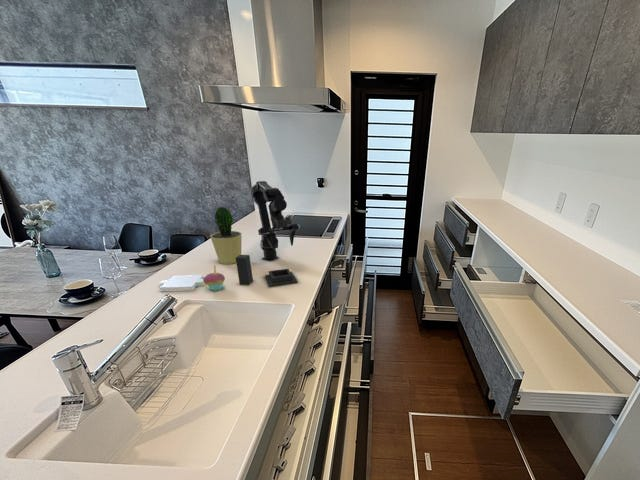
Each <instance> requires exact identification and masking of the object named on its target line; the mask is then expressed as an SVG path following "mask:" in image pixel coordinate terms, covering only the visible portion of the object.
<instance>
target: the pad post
mask: <svg viewBox="0 0 640 480" xmlns="http://www.w3.org/2000/svg"><path fill="white" fill-rule="evenodd" d="M250 257H251V256H250V254H241V255H239V256H237V257H236V263H235V264H236V269H237V277H238V283H239V285H243V286H244V285H246V286H248V285H251V284H252V282H254V278H253V269H252V264H251V258H250Z"/></svg>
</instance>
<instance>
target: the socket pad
mask: <svg viewBox="0 0 640 480" xmlns="http://www.w3.org/2000/svg"><path fill="white" fill-rule="evenodd" d="M264 278H265V280H266V283H267V286H268V288H274V287H281V286H287V285H292V284H298V279H297V278H296V276H295V274H294V273H293V271H291V270H290V269H289V268H282V269H276V270H275V269H274V270H268V274H265V275H264Z"/></svg>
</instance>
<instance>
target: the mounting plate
mask: <svg viewBox="0 0 640 480" xmlns="http://www.w3.org/2000/svg"><path fill="white" fill-rule="evenodd" d="M204 277H205V276H204V275H203V274H198V275H197V274H195V275H173V276H171V278H169V279H164V280H161V281H160V282H159V284H160V286H159V290H160V292H191V291H192V292H193V291H194V290H195V289H196V288H197V287H202V286H204V285H206V284H205V283H204V282H203V279H204Z"/></svg>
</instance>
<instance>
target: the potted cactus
mask: <svg viewBox="0 0 640 480" xmlns="http://www.w3.org/2000/svg"><path fill="white" fill-rule="evenodd" d="M213 219H214V223H215V224H216V226H217V227H216V229H217V232H214V233H212V234H210V235H209V237H210V239H211V242H212V245H213V248H214V251H215V254H216V257H217V259H218V262H219V263H220V264H221V265H222V264H223V265H232V264H236V257H237V256H239V255H242V235H243V234H242V232H240V231H235V230H233V227H232V226H233V224H234V223H235V222H234V220H235V217H233V211H231V209H228V207H224V206H219V207H216V210H214V218H213Z"/></svg>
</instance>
